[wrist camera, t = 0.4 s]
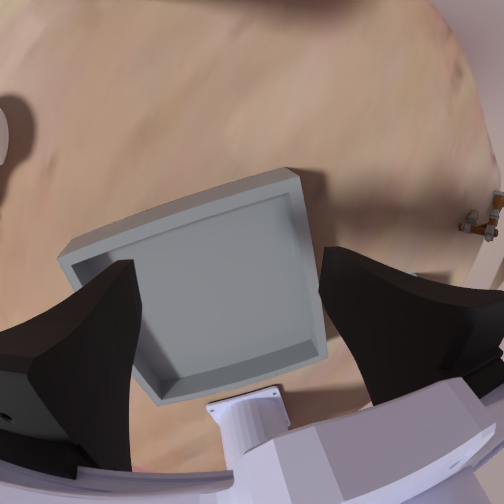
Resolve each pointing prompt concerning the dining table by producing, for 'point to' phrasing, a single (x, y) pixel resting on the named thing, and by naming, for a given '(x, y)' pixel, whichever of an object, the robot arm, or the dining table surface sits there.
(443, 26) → the dining table surface
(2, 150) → the white muffin tin
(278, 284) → the tray
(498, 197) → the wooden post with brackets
